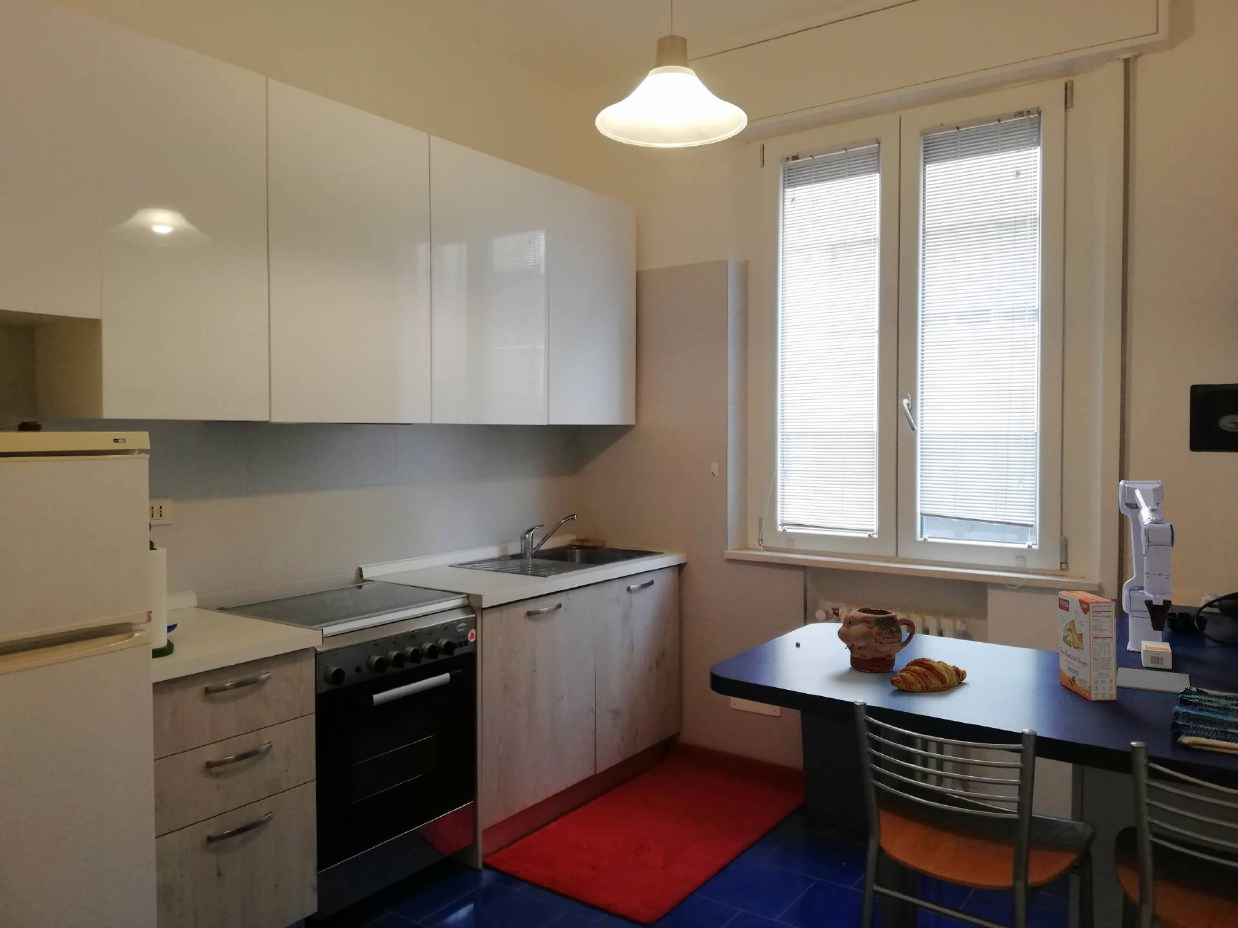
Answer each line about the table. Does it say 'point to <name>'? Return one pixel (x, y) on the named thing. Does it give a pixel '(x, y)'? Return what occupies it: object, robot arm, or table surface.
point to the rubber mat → (1152, 680)
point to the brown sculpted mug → (874, 638)
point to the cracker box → (1088, 645)
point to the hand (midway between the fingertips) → (1158, 630)
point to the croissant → (927, 676)
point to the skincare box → (1156, 654)
